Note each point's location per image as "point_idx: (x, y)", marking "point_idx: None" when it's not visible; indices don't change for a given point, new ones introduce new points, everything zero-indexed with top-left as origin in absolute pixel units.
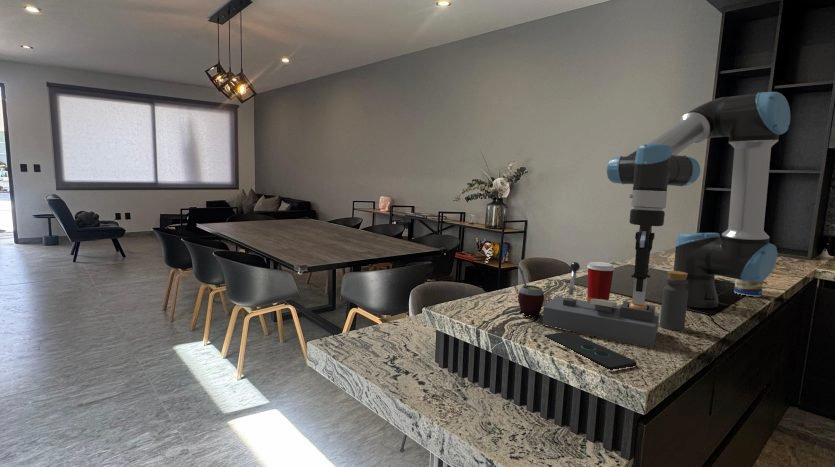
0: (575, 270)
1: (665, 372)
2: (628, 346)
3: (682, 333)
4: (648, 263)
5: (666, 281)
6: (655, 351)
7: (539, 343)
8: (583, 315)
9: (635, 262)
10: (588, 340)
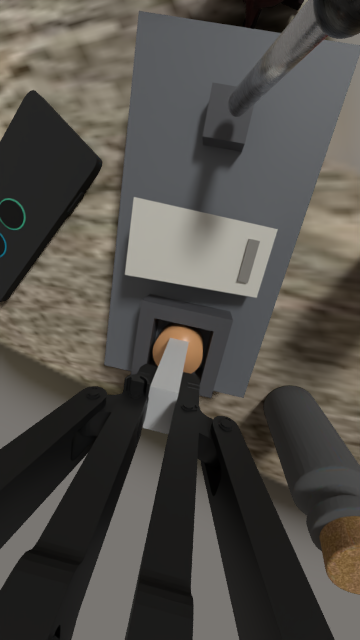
0: (313, 14)
1: (9, 342)
2: (104, 300)
3: (247, 414)
4: (211, 509)
5: (344, 495)
6: (102, 345)
7: (5, 89)
8: (123, 187)
9: (13, 440)
10: (58, 214)
